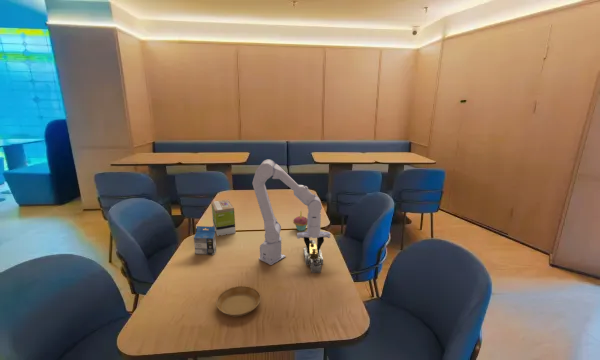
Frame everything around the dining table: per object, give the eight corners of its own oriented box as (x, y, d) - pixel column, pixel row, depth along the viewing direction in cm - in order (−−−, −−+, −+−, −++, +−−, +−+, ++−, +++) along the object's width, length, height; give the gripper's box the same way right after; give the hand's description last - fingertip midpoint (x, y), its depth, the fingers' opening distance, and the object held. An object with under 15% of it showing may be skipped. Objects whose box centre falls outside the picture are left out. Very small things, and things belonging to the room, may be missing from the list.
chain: (325, 272, 115) (325, 264, 114) (307, 273, 115) (307, 265, 114) (317, 245, 137) (318, 239, 136) (302, 246, 137) (302, 239, 136)
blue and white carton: (194, 254, 128) (192, 229, 125) (198, 250, 132) (195, 226, 129) (214, 255, 128) (212, 230, 125) (216, 250, 132) (215, 226, 128)
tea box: (212, 225, 159) (210, 201, 156) (230, 223, 163) (229, 198, 160) (216, 236, 146) (215, 209, 142) (236, 233, 150) (234, 207, 147)
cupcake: (308, 232, 152) (308, 211, 149) (292, 232, 152) (293, 211, 149) (308, 226, 160) (308, 206, 157) (293, 225, 161) (293, 205, 158)
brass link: (318, 261, 122) (318, 251, 121) (310, 261, 122) (310, 251, 121) (315, 251, 131) (315, 241, 130) (308, 251, 131) (308, 241, 129)
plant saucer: (242, 286, 106) (242, 280, 105) (269, 303, 97) (269, 297, 96) (207, 307, 95) (207, 300, 94) (235, 328, 86) (234, 321, 85)
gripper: (328, 220, 126) (327, 247, 130) (296, 220, 125) (296, 248, 129) (331, 226, 119) (330, 255, 123) (297, 227, 118) (297, 256, 122)
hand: (313, 252), depth 125 cm, fingers closed on brass link, 3 cm apart
